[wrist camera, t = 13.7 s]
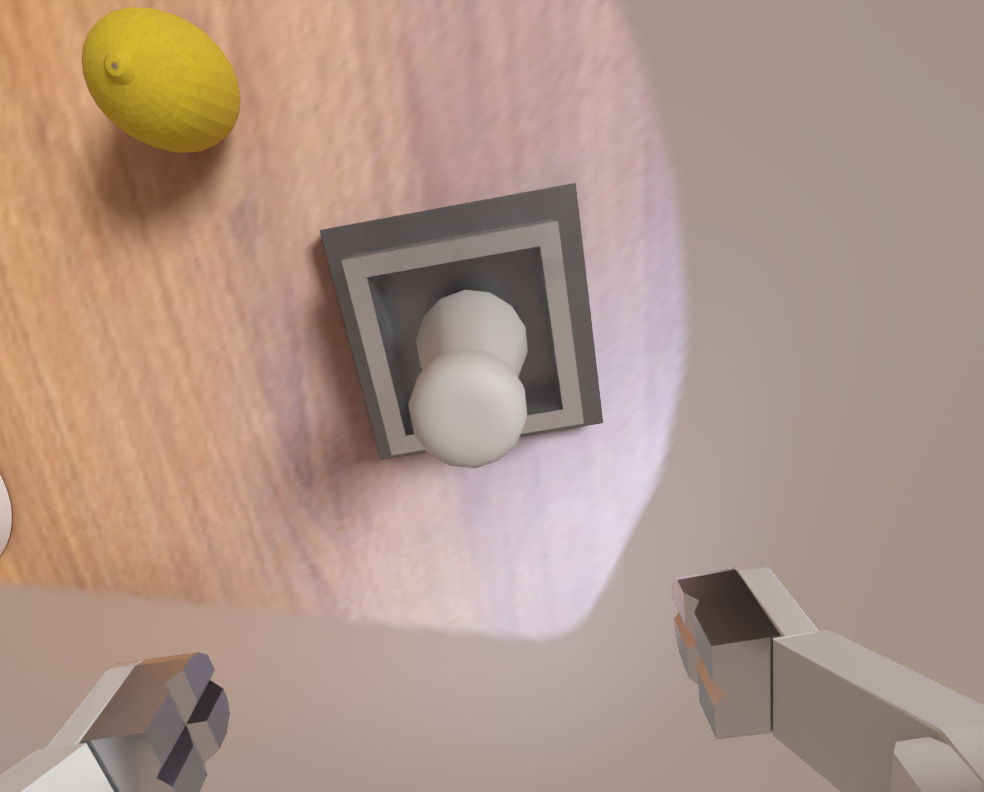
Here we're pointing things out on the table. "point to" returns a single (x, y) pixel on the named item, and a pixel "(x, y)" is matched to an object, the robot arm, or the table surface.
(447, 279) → the socket block
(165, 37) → the lemon
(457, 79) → the table surface
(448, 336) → the salt shaker
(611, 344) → the table surface
